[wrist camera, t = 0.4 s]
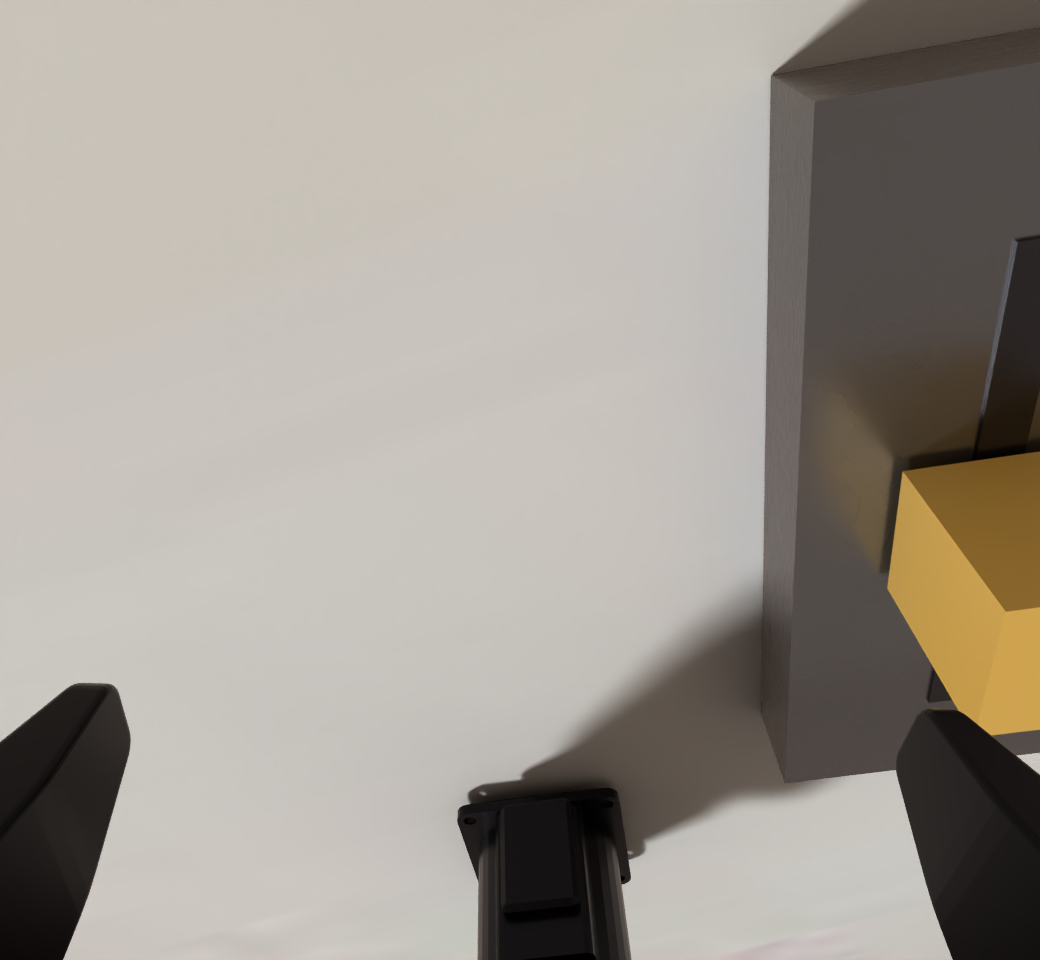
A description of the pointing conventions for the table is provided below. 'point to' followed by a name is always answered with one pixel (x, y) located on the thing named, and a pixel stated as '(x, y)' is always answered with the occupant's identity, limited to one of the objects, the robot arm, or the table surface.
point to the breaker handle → (975, 583)
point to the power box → (887, 364)
